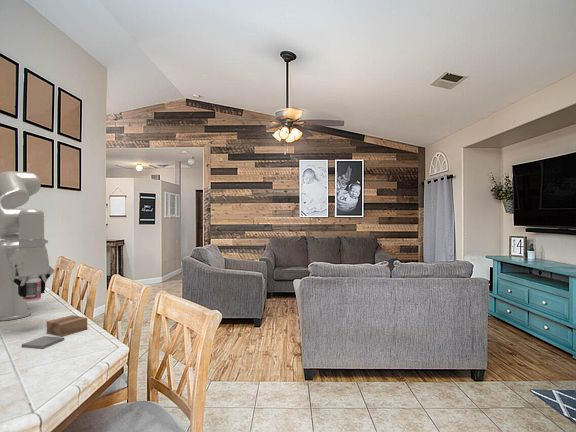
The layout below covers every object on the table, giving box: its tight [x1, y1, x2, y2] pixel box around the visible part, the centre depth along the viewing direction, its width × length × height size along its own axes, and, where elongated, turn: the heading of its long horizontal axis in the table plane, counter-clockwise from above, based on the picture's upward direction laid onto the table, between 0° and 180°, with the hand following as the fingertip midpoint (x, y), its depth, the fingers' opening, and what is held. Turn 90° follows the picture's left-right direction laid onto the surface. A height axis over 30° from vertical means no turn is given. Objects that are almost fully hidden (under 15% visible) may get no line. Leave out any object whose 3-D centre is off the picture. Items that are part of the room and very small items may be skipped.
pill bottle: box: [23, 275, 42, 302], centre depth 132 cm, size 5×5×10 cm
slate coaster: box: [21, 335, 65, 350], centre depth 117 cm, size 8×8×1 cm
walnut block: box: [46, 314, 88, 337], centre depth 130 cm, size 9×9×4 cm
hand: (32, 294), depth 132 cm, fingers closed on pill bottle, 5 cm apart
